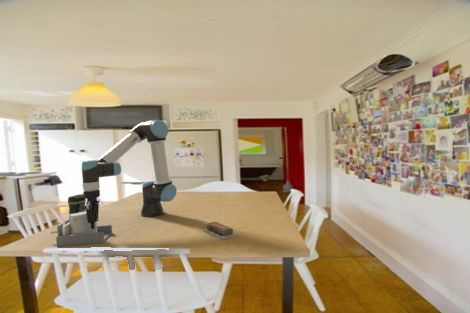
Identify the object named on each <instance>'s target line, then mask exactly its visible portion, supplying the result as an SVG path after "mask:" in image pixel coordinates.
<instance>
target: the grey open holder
mask: <svg viewBox="0 0 470 313" xmlns="http://www.w3.org/2000/svg"><path fill="white" fill-rule="evenodd" d="M62 230H63V235H71V233H70V222H69V223H67V224H66V225H65V224H63V227H62ZM50 234H58V231H57V230H51V231H50Z"/></svg>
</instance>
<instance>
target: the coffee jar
mask: <svg viewBox="0 0 470 313" xmlns="http://www.w3.org/2000/svg"><path fill="white" fill-rule="evenodd" d="M86 203H87V199H85V198H84V195H83V194H75V195H72V196H69V197H68V198H67V205H68V208H69V209H68V215H69V214H74V213H79V212H84V211H86V209H85V206H86Z"/></svg>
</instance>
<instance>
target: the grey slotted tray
mask: <svg viewBox="0 0 470 313" xmlns="http://www.w3.org/2000/svg"><path fill="white" fill-rule="evenodd" d="M69 222H70V219H69V218H68V219H66V220H65V221H64V223H60V224H58V225H56V226H57V227H56V228H57V230H56V231H58V233H57V236H55V241H56V247H63V246H64V247H66V246H77V245H78V246H79V245H90V244H100V243H102V244H103V243H105V242H106V240H107V239H109V238H110V236H111V235H112V234H113V225H112V224H105V225H104V224H103V225H97V233H87V234H74V235H63V230H62V227H63V226H64V225H66V224H67V223H69Z"/></svg>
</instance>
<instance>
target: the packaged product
mask: <svg viewBox="0 0 470 313" xmlns="http://www.w3.org/2000/svg"><path fill="white" fill-rule="evenodd" d="M203 232H204V233H206V234H208V235H211V236H212V237H215V238H217V239H219V240H222V241H225V240H227V239H230V238H231V239H232V238H233V237H236V236H238V233H236V232H234V228H232V227H230V226H227V225H225V224H223V223H220V222H218V221H211V222H208V223H207V224H206V227H205V228H204V229H203Z"/></svg>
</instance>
